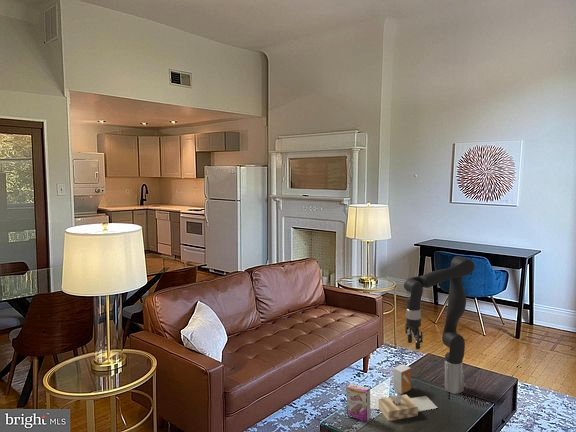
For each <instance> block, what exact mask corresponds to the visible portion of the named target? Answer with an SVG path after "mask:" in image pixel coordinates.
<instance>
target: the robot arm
mask: <svg viewBox="0 0 576 432" xmlns="http://www.w3.org/2000/svg"><path fill="white" fill-rule="evenodd" d="M475 268H476V267H475V262H474V261H473V260H471V259H470V258H468V257H464V256H460V255H456V256H454V257H453V258H452V259H451V262H450V266H449V267H448V268H443V269H436V270H432V271H430V272H428V273H424V274H423V275H418V276H412V277H410V278H407V279H406V280H405V282H404V283H403V288H404V290H406V291H407V292H408V293H410V296H408V297H407V298H406V311H405V312H406V313H405V318H406V321H405V322H406V323H405V334H406V336H407V343H408V344H411V343H413V339H414V341H415V350H420V349H421V343H423V331H420V330H419V329H420V327H421V326H422V311H421V301H422V297H423V294H424V288H425V289H426V288H431V287H434V286H436V285H439V284H440V283H443V282H447V281H449V292H448V299H447V309H446V315H445V323H444V326H443V327H444V328H443V330H442V336H441V340H442V343H443V344H444V345H445V346H446V348H449V351H448V352H447V353H445V355H444V390H445V391H446V392H448V393H449V392H450V394H456V395H457V394H458V395H459V394H462V393H463V392H464V391H465V375H464V373H463V363H464V362H463V359H464V357H465V348H466V346H465V345H466V343H465V338H464V336H463V335H461V334H459V333H458V332H457V327H458V322H459V320H460V319H461V318H462V316H463V315H464V313H465V311H466V307H467V295H466V291H465V287H464V285H463V277H466V276H468V275H471V274H472V273H473V272H474V271H475Z"/></svg>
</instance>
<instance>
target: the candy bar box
mask: <svg viewBox="0 0 576 432" xmlns="http://www.w3.org/2000/svg"><path fill="white" fill-rule="evenodd" d="M347 415H349V416H352V417H354V418H357V419H356V420H358V419H360V420H359V421H361V420H363V421H362V422H364V421H365V423H368V422H369V421H370V419H371V387H368V386H367V387H366V386H363V385H358V384H357V383H356V384H355V383H351V382H349V384H348V385H346V416H347ZM354 418H353V419H354Z"/></svg>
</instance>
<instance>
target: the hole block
mask: <svg viewBox="0 0 576 432" xmlns="http://www.w3.org/2000/svg"><path fill="white" fill-rule="evenodd" d="M410 398H411V397H410V396H408V394H401V405H398V406H395V395H394V396H389V397H383V398H378V409H379V411H380V412H381V413H382V414H383V416H384V417H385V419H386V420H387V421H388V422H391V421H397V420H402V419H409V418H413V417H418V416H419V412H418V406H417V405H416V404H415V403H414V402H413V401H412V400H411V399H410Z"/></svg>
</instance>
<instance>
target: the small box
mask: <svg viewBox="0 0 576 432" xmlns="http://www.w3.org/2000/svg"><path fill="white" fill-rule="evenodd" d="M392 373H393V374H392V379H393V380H392V382H393V384H392V385H393V386H392V388H393V390H394V391H395V392H399V393H400V394H401V395H404V393H407V392H408V391H411V390H412V368H411V367H410V366H408V365H405V364H404V363H403V364H400V365H397V366H395V367H393V368H392Z"/></svg>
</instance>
